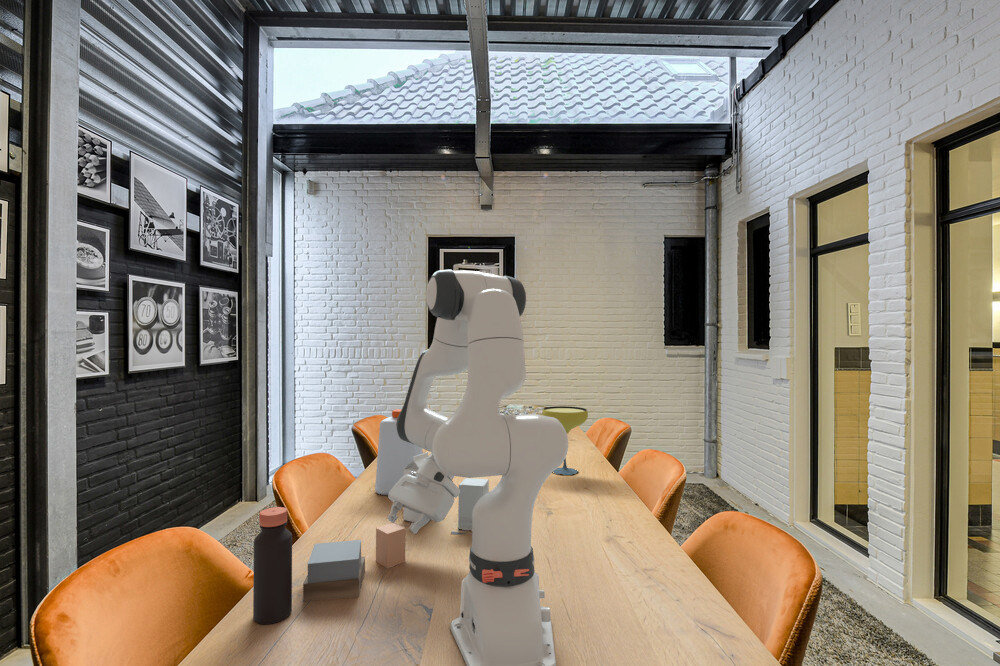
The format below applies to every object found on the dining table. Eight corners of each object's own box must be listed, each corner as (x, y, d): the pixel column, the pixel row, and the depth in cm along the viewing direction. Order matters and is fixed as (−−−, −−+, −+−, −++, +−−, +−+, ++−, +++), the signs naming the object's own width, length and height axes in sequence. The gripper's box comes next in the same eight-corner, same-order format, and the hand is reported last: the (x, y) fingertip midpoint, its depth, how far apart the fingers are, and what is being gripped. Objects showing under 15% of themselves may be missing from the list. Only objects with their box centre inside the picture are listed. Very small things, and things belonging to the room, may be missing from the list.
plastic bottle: (413, 498, 165) (414, 414, 165) (371, 495, 167) (371, 412, 167) (427, 484, 180) (427, 407, 180) (388, 482, 182) (388, 406, 182)
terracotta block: (405, 561, 118) (405, 527, 118) (387, 568, 115) (387, 533, 115) (393, 554, 122) (393, 522, 122) (375, 561, 118) (375, 527, 118)
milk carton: (403, 520, 144) (403, 455, 145) (418, 512, 151) (418, 450, 151) (422, 524, 141) (423, 458, 141) (437, 516, 147) (437, 453, 147)
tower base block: (358, 599, 102) (359, 579, 102) (303, 603, 100) (303, 583, 100) (364, 574, 113) (365, 556, 113) (314, 577, 111) (314, 559, 111)
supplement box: (483, 532, 136) (483, 486, 136) (457, 530, 137) (457, 484, 138) (489, 522, 143) (489, 478, 143) (464, 520, 145) (464, 477, 145)
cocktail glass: (594, 470, 200) (594, 408, 200) (576, 480, 185) (576, 414, 185) (554, 463, 210) (554, 405, 210) (534, 473, 194) (534, 410, 195)
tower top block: (358, 578, 103) (358, 558, 103) (307, 583, 100) (307, 563, 100) (361, 557, 112) (361, 539, 112) (314, 561, 110) (314, 543, 110)
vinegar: (281, 601, 100) (282, 502, 100) (298, 613, 95) (299, 510, 96) (246, 616, 95) (247, 511, 95) (263, 629, 90) (264, 520, 90)
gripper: (402, 463, 133) (370, 508, 126) (451, 479, 118) (417, 531, 112) (416, 476, 136) (385, 521, 129) (465, 493, 122) (433, 545, 115)
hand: (400, 526), depth 120 cm, fingers open, 8 cm apart
